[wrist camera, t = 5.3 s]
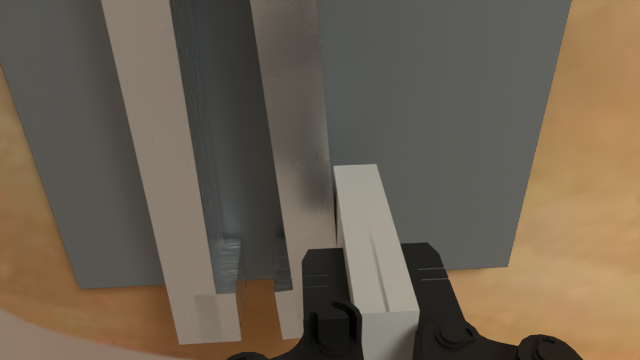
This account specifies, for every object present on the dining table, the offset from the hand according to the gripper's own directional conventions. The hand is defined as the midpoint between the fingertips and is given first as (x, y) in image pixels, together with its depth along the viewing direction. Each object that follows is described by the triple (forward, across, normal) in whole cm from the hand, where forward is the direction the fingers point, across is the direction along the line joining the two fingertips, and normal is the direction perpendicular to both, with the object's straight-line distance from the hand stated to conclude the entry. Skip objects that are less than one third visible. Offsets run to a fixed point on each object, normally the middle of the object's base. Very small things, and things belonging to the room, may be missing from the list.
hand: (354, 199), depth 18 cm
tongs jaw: (+2, -2, +2) cm, 4 cm away
